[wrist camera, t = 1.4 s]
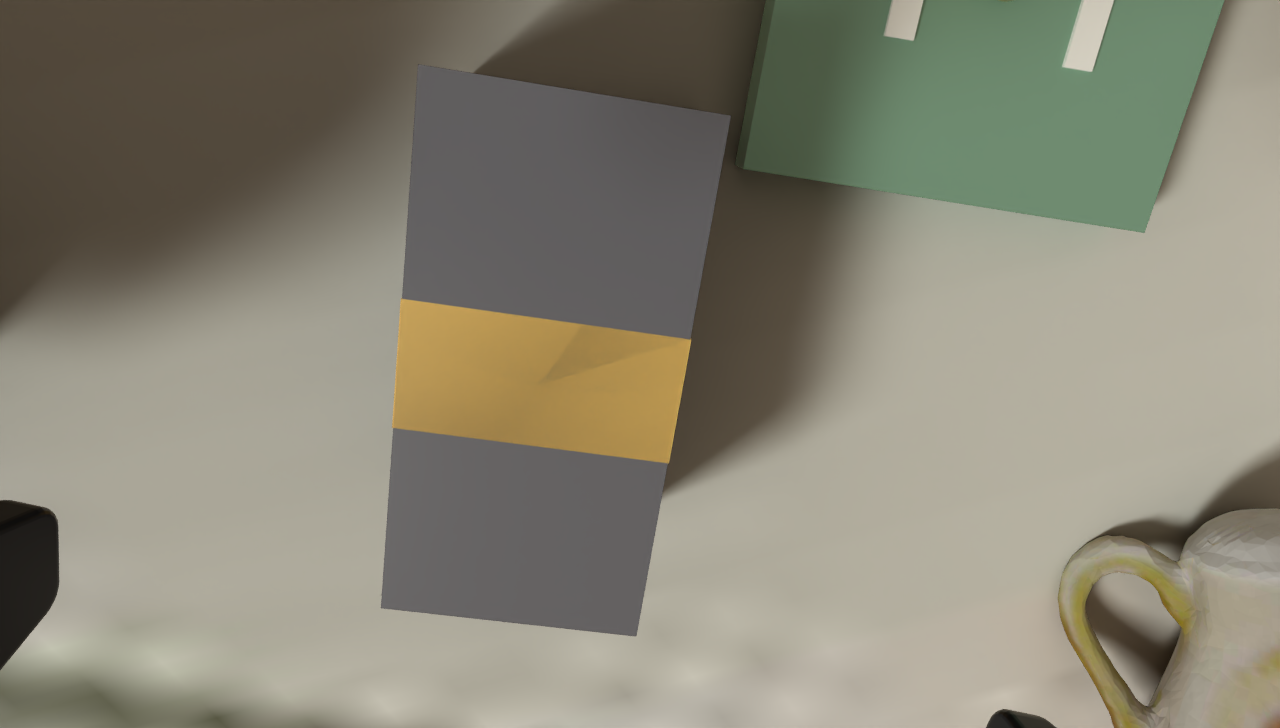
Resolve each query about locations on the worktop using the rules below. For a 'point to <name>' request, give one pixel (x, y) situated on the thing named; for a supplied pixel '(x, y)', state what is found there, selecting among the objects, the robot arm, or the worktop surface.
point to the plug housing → (542, 346)
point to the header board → (979, 99)
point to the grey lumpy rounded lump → (1194, 623)
